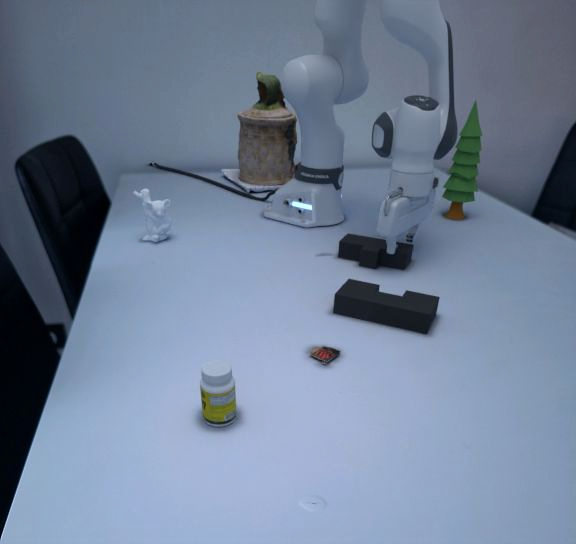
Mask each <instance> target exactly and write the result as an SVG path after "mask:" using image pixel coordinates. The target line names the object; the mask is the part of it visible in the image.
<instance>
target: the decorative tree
mask: <svg viewBox="0 0 576 544" xmlns="http://www.w3.org/2000/svg"><path fill="white" fill-rule="evenodd" d="M477 103H478V102H477V99H475V100H474V103H473V104H472V106H471V107H472V108H471V109H470V112H469V115H468V116H467V119H466V121H465V123H464V125H463V127H462V129H461V130H460V132H459V134H458V136H459V139H458V142H457V143H456V144H455V146H454V148H455V149H456V151H455V153H454V154H453V156H452V158H451V161H452V162H453V163H452V164H451V167H450V168H449V169H448V171H447V173H446V174H447V175H450V176H449V177H448V179H447V180H446V182H445V183H444V184H443V186H442V188H444V189H445V190H444V191H443V193H442V195H441V198H443V199H445V200H446V201H449V202H450V205H449V208H448V210H447V211H446V213H445V214H444V217H445V218H446V219H449V220H450V219H451V220H456V221H460V220H463V219H465V218H467V217H466V215H465V213H464V210H463V209H464V208H463V205H464V204H465V203H470V202H471V203H472V202H475V201H476V197H475V192H477V193H478V192H479V188H478V183H477V179H476V177H477V176H478V175H479V168H478V164H481V157H480V152H481V151H482V140H481V137H483V131H482V128H481V125H480V119H479V113H478V112H479V111H478V104H477Z"/></svg>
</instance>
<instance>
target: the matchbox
mask: <svg viewBox="0 0 576 544" xmlns="http://www.w3.org/2000/svg"><path fill="white" fill-rule="evenodd" d="M339 354H341V350H339V349H336V348H334V347H332V346H325V345H322V346H314V347H312V348H311V350H310V353H309V355H310V356H312V357H314V358H316V359H318V360H322V361H321V364H322V365H327V366H329V364H328V362H330V361H331V360H333V359H336V357H337V356H339Z"/></svg>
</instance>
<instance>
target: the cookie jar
mask: <svg viewBox="0 0 576 544" xmlns="http://www.w3.org/2000/svg"><path fill="white" fill-rule="evenodd" d="M255 75H256V77H255V79H256V81H257V82H256V83H257V87H256V90H257V92H258V97H259V99H258V100H257V101H256V102H255V103H254V104H253V105H252V106H250V107H249V108H248V109H246V110H240V111H239V112H237V114H236V115H237V120H238V122H239V126H240V127H239V132H238V146H237V147H238V149H237V161H238V168H222V169H221V172H222V174H223V175H222V176H223V178H225V177H226V178H227V179H228V180H230V181H231V182H233V183H234V184H236V185H238V186H239V187H240V188H242V189H243V190H244V191H245V192H246V193H248V194H250V191H253V192H258V193H260V192H265V191H275V189H278V188H280V187H282V186H283V185H284V184H285V183H287V182H288V181H289V180H291V179H292V178H293V177H294V172H292V170H293V169H292V168H293V167H294V166H295V165H296V164H295V160H294V158H295V155H296V154H295V153H296V149H297V144H298V133H297V129H296V128H297V121H298V117H297V115H296V113H294V112H292V111H291V110H290V109H289V108H288V107H287V106H286V102H285V100H284V99H285V97H284V95H283V92H282V88H281V80H280V78H279V77H278V76H276V75H274V74H266V73H264V72H262V71H261V70H258V71H256V74H255Z"/></svg>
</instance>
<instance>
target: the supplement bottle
mask: <svg viewBox="0 0 576 544" xmlns="http://www.w3.org/2000/svg"><path fill="white" fill-rule="evenodd" d="M200 371H201V372H200V373H201V378H200V380H199V390H200V391H199V392H200V399H201V401H200V402H201V410H202V411H201V412H202V419H203V420H204V422H205V423H206V424H207V425H209V426H212V427H215V428H218V427H219V428H220V427H221V428H222V427H226V426H229V425H231V424H232V423H233V422H235V420H236V418H237V413H238V412H237V395H236V394H237V393H236V380H235V377H234V376H233V367H232V365H231V363H230V362H229V361H226V360H223V359H211V360H207V361H206V362H204V363H203V364H202V366H201V369H200Z"/></svg>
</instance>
